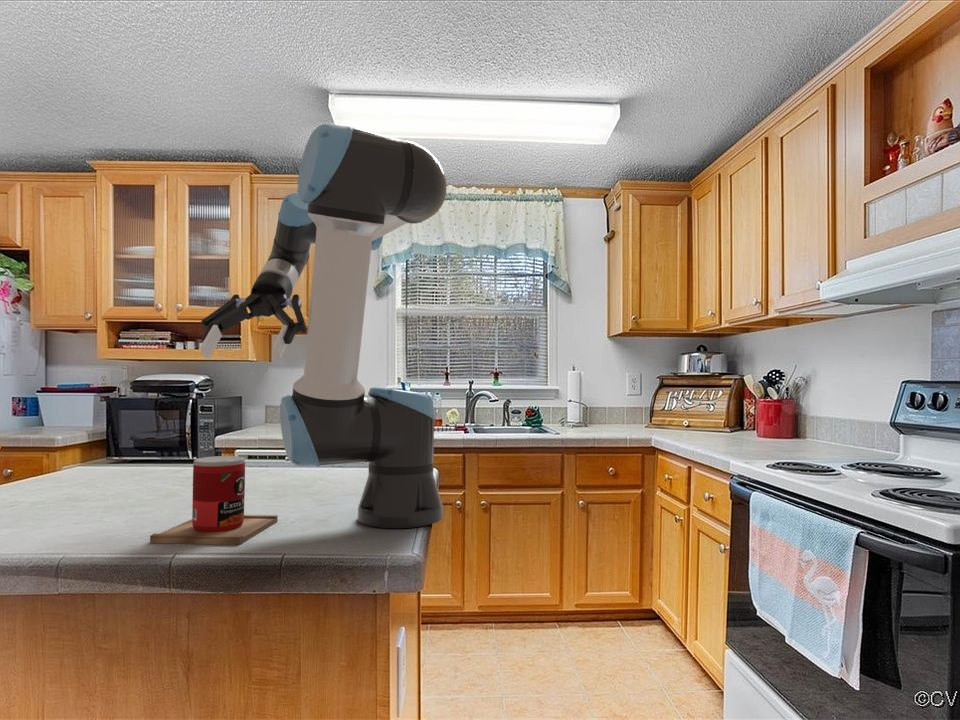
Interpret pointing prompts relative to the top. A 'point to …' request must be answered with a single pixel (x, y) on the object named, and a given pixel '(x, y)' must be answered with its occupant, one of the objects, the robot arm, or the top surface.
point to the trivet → (235, 536)
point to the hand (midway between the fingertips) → (240, 353)
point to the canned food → (218, 493)
